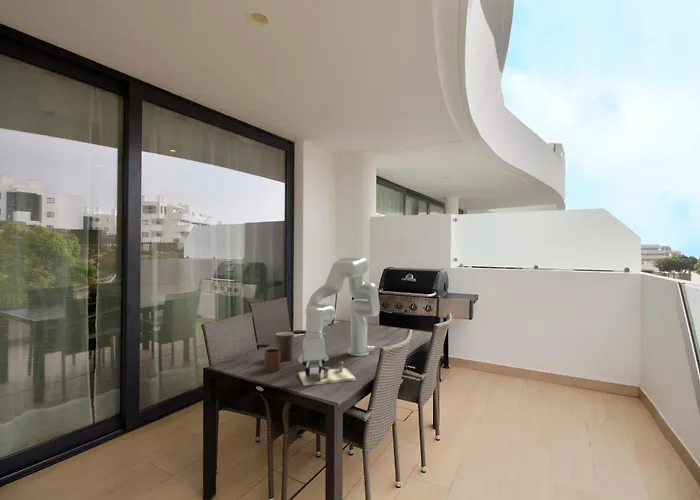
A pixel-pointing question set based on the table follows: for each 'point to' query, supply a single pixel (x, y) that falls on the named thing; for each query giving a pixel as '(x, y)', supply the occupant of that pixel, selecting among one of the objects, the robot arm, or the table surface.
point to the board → (331, 377)
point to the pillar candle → (285, 345)
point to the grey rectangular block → (314, 367)
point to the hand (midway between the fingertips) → (313, 374)
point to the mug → (272, 360)
